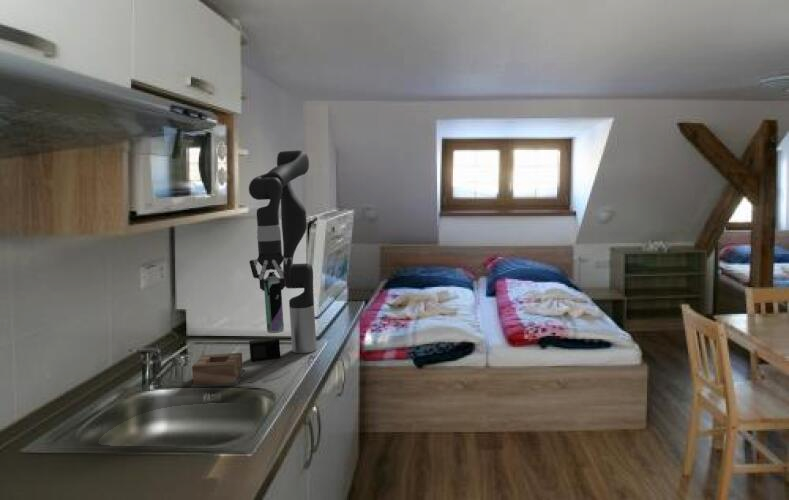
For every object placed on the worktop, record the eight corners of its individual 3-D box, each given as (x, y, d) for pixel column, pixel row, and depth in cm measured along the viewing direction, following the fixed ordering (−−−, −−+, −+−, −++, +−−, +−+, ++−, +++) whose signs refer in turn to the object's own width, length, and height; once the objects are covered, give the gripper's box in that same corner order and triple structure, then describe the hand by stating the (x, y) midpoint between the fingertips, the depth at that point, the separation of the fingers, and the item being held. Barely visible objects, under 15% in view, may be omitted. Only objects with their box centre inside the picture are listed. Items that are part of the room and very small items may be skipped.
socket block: (203, 374, 208) (201, 354, 207) (244, 371, 208) (243, 352, 208) (191, 387, 194) (190, 366, 193) (236, 385, 195) (234, 364, 194)
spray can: (280, 333, 200) (276, 273, 198) (264, 333, 201) (260, 273, 199) (286, 329, 205) (282, 270, 203) (271, 328, 207) (267, 270, 204)
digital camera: (252, 363, 219) (250, 344, 218) (250, 359, 224) (248, 340, 223) (281, 358, 222) (280, 340, 221) (278, 355, 227) (277, 336, 227)
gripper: (292, 236, 204) (295, 286, 206) (249, 239, 203) (253, 289, 205) (289, 239, 196) (293, 290, 198) (244, 241, 196) (248, 293, 198)
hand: (272, 289), depth 202 cm, fingers closed on spray can, 5 cm apart
